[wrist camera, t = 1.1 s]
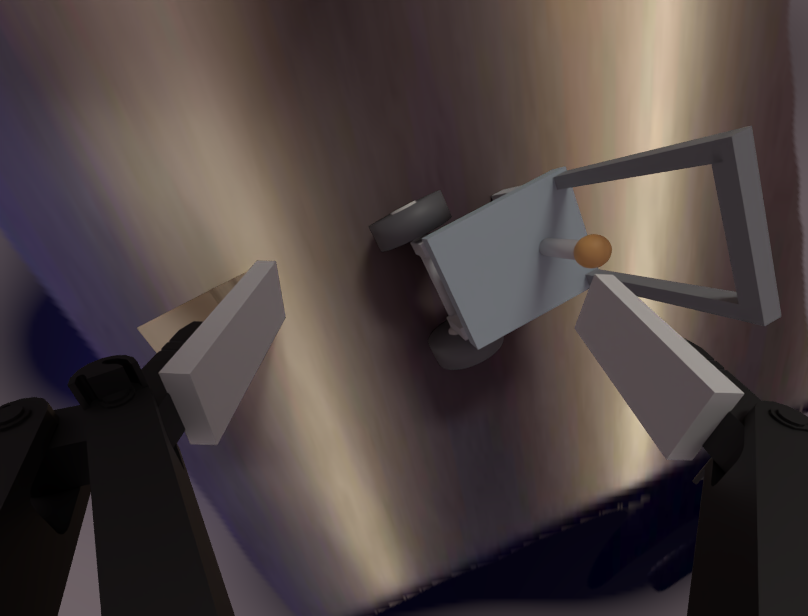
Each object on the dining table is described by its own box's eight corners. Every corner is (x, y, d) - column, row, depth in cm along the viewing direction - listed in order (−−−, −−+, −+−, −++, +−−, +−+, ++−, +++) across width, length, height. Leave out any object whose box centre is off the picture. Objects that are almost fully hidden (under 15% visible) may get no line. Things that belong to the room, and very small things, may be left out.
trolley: (430, 353, 38) (543, 509, 17) (364, 225, 34) (408, 223, 13) (548, 289, 39) (792, 362, 18) (498, 156, 34) (743, 48, 14)
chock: (233, 339, 34) (185, 390, 23) (202, 295, 32) (136, 327, 22) (279, 314, 34) (253, 354, 24) (250, 270, 33) (208, 290, 22)
